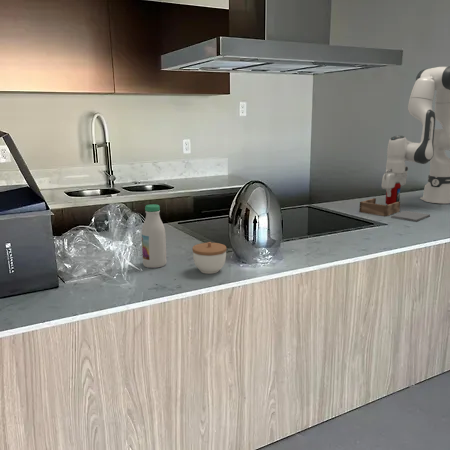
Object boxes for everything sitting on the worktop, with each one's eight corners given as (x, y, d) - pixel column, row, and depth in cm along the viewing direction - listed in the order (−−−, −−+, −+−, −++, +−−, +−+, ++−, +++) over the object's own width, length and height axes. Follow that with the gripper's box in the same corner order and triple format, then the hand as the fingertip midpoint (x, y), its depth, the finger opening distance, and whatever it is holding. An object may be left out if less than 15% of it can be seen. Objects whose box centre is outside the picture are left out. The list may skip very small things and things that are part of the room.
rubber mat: (405, 212, 228) (405, 210, 228) (429, 216, 220) (430, 214, 220) (391, 217, 218) (391, 215, 218) (416, 221, 210) (416, 219, 210)
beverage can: (401, 206, 236) (403, 182, 233) (387, 206, 236) (389, 182, 233) (396, 203, 242) (398, 180, 239) (383, 203, 242) (385, 180, 239)
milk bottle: (167, 260, 157) (165, 202, 152) (165, 268, 150) (163, 207, 145) (144, 261, 157) (141, 203, 152) (141, 268, 149) (138, 208, 145)
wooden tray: (373, 207, 240) (374, 198, 239) (399, 211, 230) (400, 201, 229) (359, 211, 230) (360, 202, 229) (385, 216, 221) (386, 206, 219)
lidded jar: (187, 268, 150) (186, 240, 147) (216, 263, 155) (215, 235, 153) (202, 278, 141) (202, 249, 138) (232, 272, 146) (232, 243, 144)
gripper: (391, 171, 225) (389, 199, 228) (409, 167, 239) (407, 193, 242) (379, 170, 229) (377, 197, 233) (398, 166, 243) (396, 192, 247)
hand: (392, 195), depth 238 cm, fingers closed on beverage can, 7 cm apart
